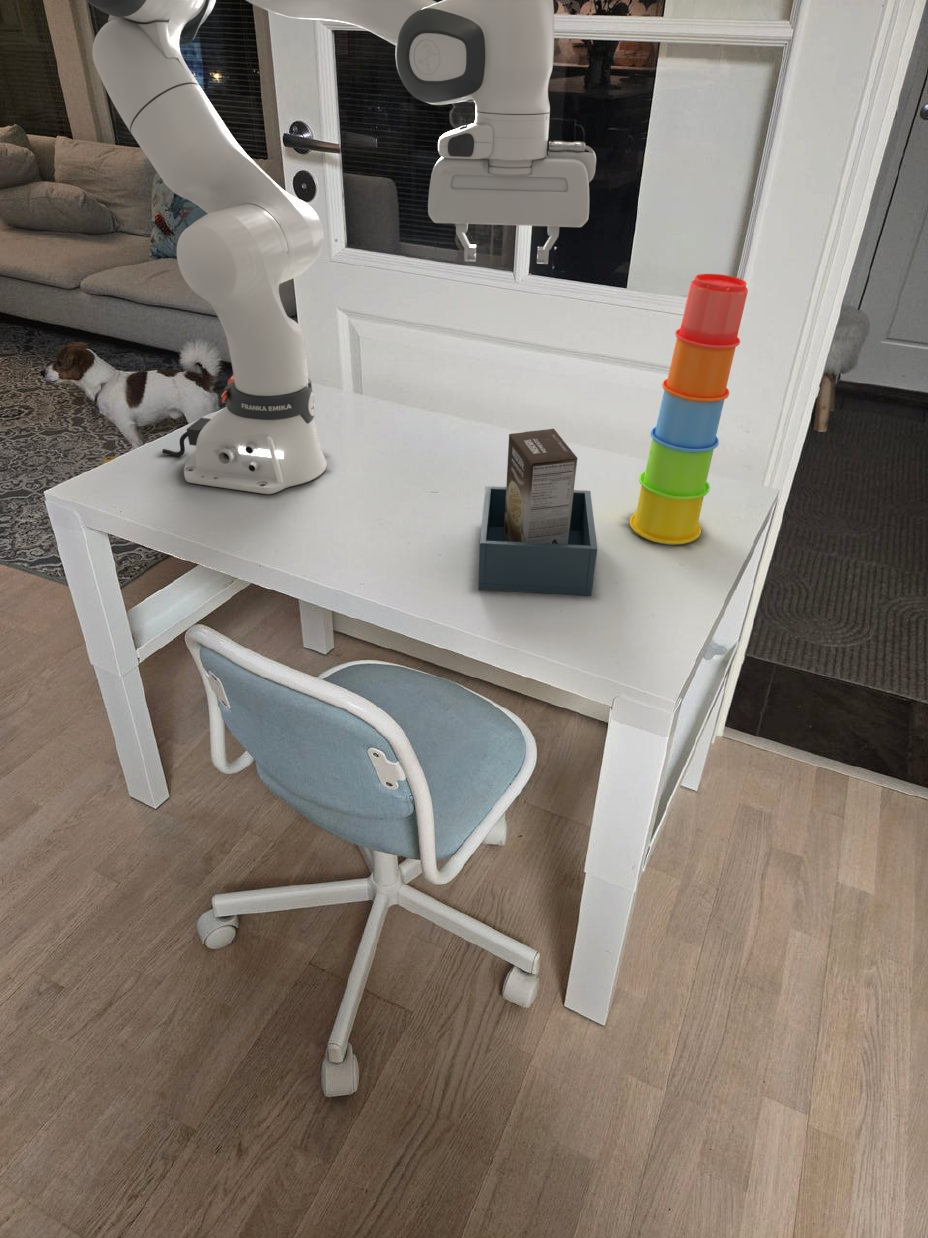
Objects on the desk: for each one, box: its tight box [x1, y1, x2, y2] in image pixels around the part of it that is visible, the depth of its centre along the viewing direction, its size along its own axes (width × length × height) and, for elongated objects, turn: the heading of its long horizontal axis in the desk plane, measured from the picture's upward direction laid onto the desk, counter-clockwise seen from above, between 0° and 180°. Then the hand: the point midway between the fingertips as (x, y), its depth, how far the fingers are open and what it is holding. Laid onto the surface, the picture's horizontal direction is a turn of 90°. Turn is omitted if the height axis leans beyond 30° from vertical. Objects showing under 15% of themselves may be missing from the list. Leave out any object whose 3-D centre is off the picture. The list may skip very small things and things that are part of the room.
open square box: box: [477, 485, 598, 596], centre depth 110 cm, size 15×16×7 cm
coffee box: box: [504, 428, 578, 545], centre depth 107 cm, size 9×6×16 cm
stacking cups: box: [629, 273, 749, 546], centre depth 109 cm, size 10×10×35 cm
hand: (506, 261), depth 107 cm, fingers open, 8 cm apart
